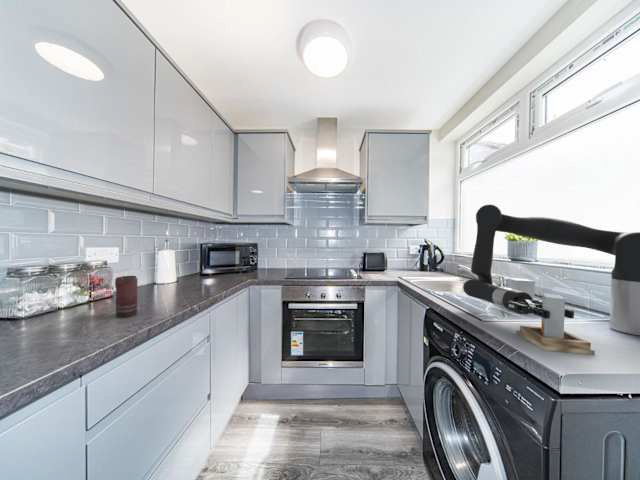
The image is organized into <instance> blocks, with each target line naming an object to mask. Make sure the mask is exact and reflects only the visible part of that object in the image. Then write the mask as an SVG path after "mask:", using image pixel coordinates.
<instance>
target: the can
mask: <svg viewBox="0 0 640 480" xmlns="http://www.w3.org/2000/svg"><path fill="white" fill-rule="evenodd" d="M114 284H115V285H114V287H115V316H116V318H119V319H120V318H121V319H123V318H130V317H134V316H136V315H137V313H138V277H137V276H136V275H123V276H117V277H116V278H115V281H114Z"/></svg>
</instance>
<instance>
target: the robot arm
mask: <svg viewBox="0 0 640 480" xmlns="http://www.w3.org/2000/svg"><path fill="white" fill-rule="evenodd" d="M475 222H476V225H477V228H476V241H475V245H474V249H473V255H472V260H471V266H470V272H471V273H472V274H474V275H475V276H476V277H477V278H478V280H477V279H473V278H472V279H468V280H466V281H465V282H464V284H463V286H462V287H463V291H464V293H465V294H466V295H467V296H469V297H472V298H475V299H479V300H483V301H486V302H487V303H491V304H493V305H495V306H498V307H499V308H501V309H504V310H507V311H510V312H513V313H515V314H519V315H531V316H537V317H541V318H542V317H543V318H546V319H549V318H550V312H549V311H547V310H544V309H542V300H539V299H535V298H534V299H532V297H531V296H530V295H529V294H528V293H526V292H522V291H519V290H515V289H511V288H507V287H505V286H501V285H495V284H493V283H494V282H493V277H492V274H491V271H492V266H493V258H494V257H493V256H494V242H495V236H496V232H502V233H508V234H509V233H510V234H513V235H517V236H522V237H525V238H530V239H533V240H538V241H542V242H547V243H551V244H556V245H561V246H562V245H563V246H569V247H578V248H585V249H590V250H594V251H599V252H602V253H605V254H609V255H613V256H614V257H615V259H614V266H613V269H612V270H611V275H610V276H611V278H610V279H611V281H610V305H609V306H610V309H609V313H610V314H609V328H610V329H612V330H614V331H617V332H621V333H624V334H629V335H634V336H640V231H637V232H635V231H634V232H633V231H632V232H621V231H612V230H611V231H610V230H603V229H597V228H593V227H589V226H587V225H583V224H581V223H576V222H573V221H569V220H565V219H560V218H553V217H547V216H526V217H525V216H523V217H521V216H520V217H519V216H513V215H507V214H504V213H502V211H501V209H500V208H499V207H498V206H497V205H494V204H485V205H483V206H481V207H480V208H478V210H477V212H476V213H475ZM564 318H567V319H574V318H575V311H574V310H572V309H567V308H565V312H564Z"/></svg>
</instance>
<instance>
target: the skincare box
mask: <svg viewBox="0 0 640 480" xmlns="http://www.w3.org/2000/svg"><path fill="white" fill-rule="evenodd" d="M541 301H542V309H544V310H547V311H549V312H550V318H549V319H546V318H543V317H541V326H540V327H541V331H542V333H543V336H544V337H545V338H553V339H564V331H565V317H564V312H565V309H566V308H565V306H566V299H565V298H564V297H563V296H562V295H561V294H554V293H544V292H542V299H541Z"/></svg>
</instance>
